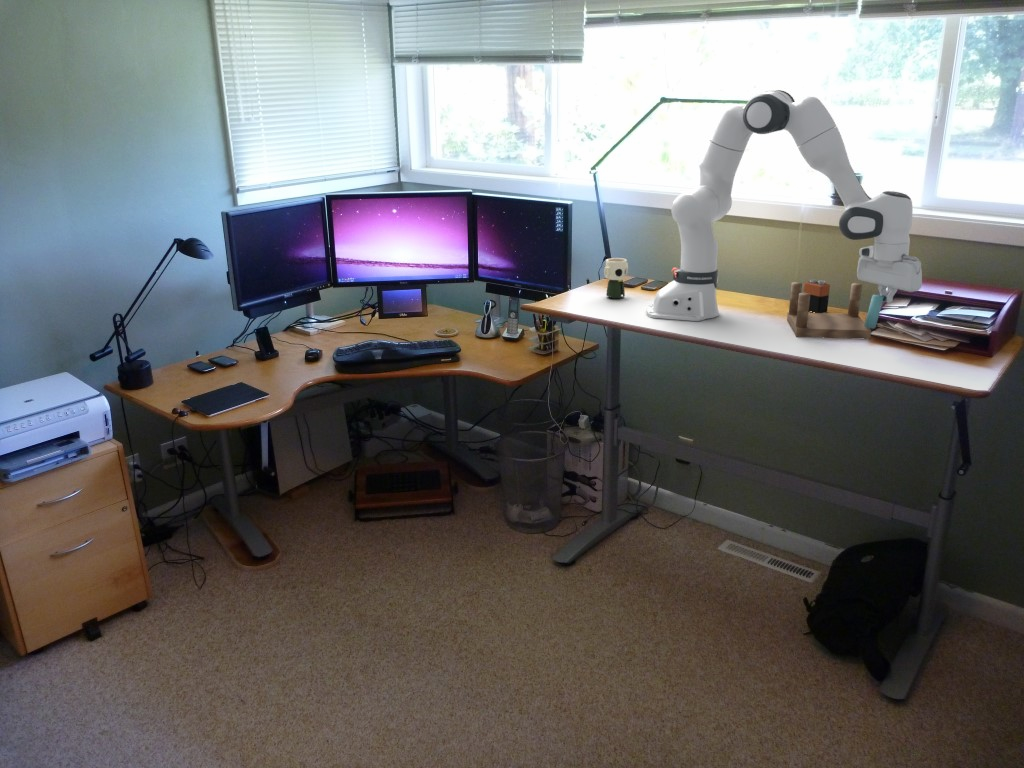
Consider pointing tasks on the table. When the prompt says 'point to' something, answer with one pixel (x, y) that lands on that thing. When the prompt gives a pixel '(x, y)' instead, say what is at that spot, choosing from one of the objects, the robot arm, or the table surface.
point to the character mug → (616, 276)
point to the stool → (825, 317)
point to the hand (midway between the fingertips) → (886, 301)
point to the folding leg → (873, 311)
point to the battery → (817, 295)
